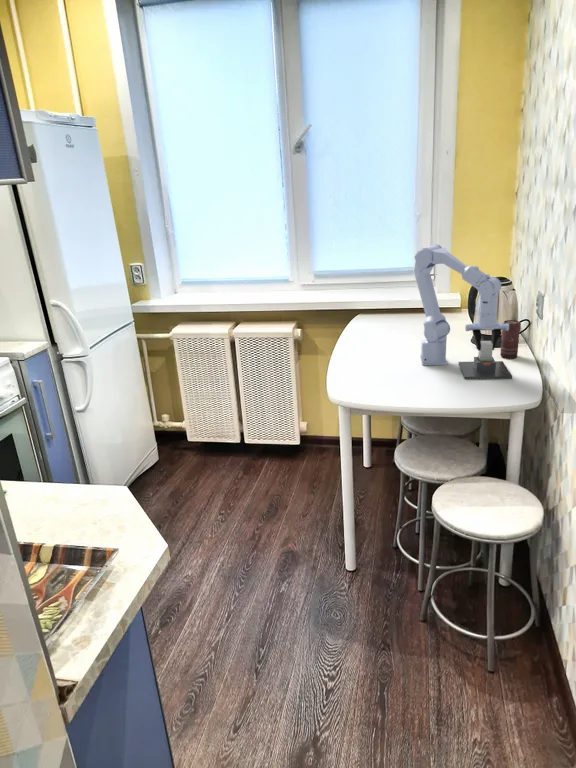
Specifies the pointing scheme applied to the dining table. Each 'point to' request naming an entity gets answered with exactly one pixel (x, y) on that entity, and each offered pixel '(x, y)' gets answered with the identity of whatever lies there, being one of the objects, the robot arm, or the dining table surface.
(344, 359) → the dining table surface
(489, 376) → the stand
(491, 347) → the column
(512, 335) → the can
